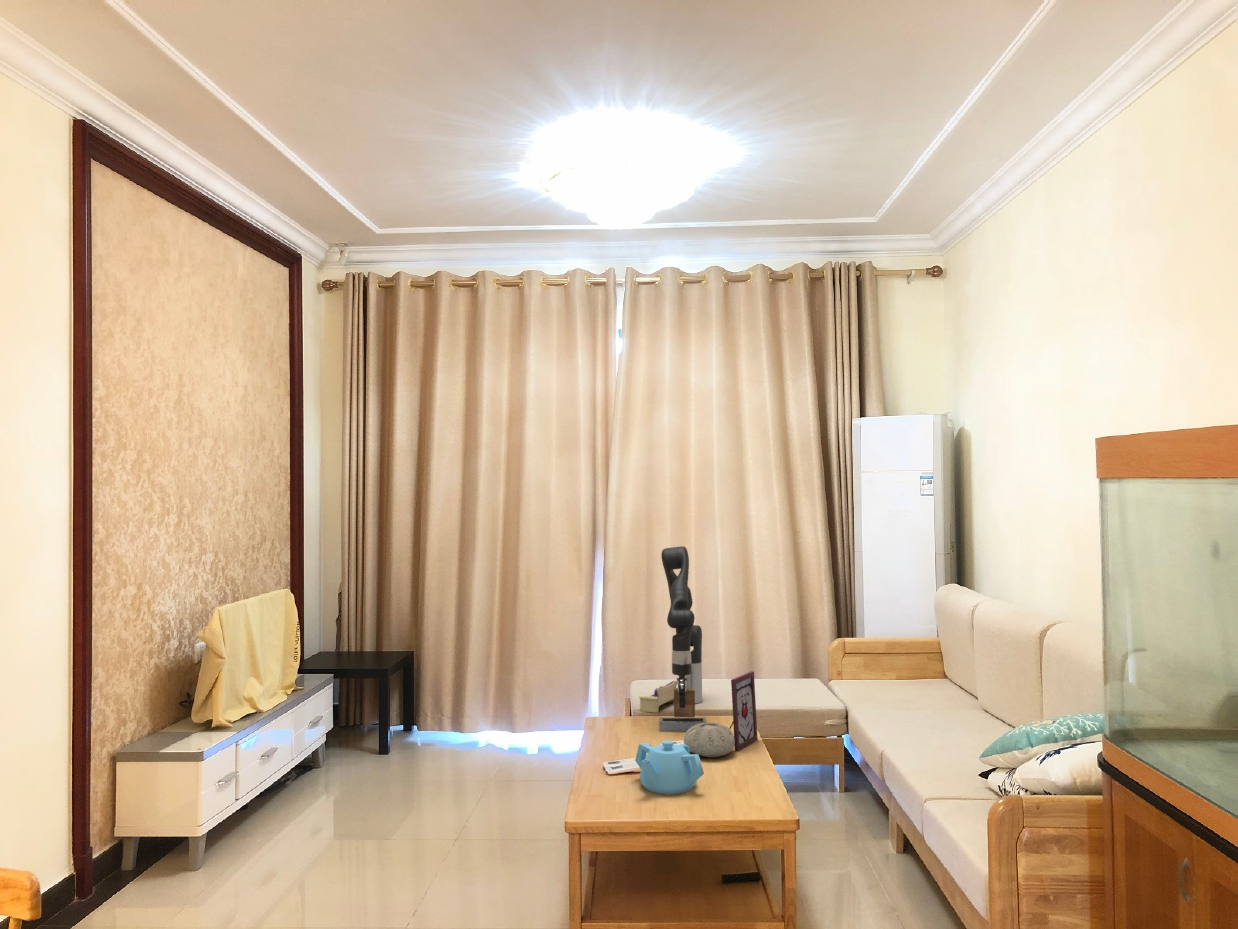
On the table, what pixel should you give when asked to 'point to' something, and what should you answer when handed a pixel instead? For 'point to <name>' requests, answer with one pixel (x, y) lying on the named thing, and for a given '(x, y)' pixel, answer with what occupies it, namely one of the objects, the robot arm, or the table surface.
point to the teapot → (668, 767)
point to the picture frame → (744, 710)
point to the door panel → (689, 704)
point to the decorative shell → (709, 739)
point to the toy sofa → (658, 698)
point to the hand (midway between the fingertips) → (682, 706)
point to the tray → (679, 724)
